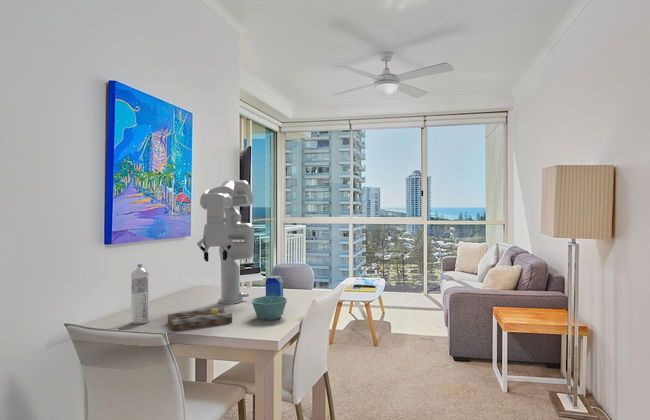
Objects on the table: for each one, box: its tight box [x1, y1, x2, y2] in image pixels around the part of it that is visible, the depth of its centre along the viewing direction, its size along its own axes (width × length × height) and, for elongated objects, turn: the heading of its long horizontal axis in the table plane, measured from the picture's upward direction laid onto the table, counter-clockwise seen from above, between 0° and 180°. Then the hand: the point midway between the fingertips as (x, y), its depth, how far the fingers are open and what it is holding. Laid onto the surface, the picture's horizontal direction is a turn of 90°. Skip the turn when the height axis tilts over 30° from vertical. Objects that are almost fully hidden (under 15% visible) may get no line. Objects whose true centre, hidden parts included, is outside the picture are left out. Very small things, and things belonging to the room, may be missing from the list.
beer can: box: [265, 275, 284, 297], centre depth 203 cm, size 8×8×16 cm
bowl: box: [251, 295, 288, 321], centre depth 187 cm, size 16×16×8 cm
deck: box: [167, 306, 233, 332], centre depth 179 cm, size 24×13×4 cm, turn 120°
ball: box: [210, 307, 218, 315], centre depth 182 cm, size 3×3×3 cm
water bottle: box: [130, 263, 150, 325], centre depth 180 cm, size 7×7×25 cm
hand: (215, 260), depth 186 cm, fingers open, 7 cm apart
